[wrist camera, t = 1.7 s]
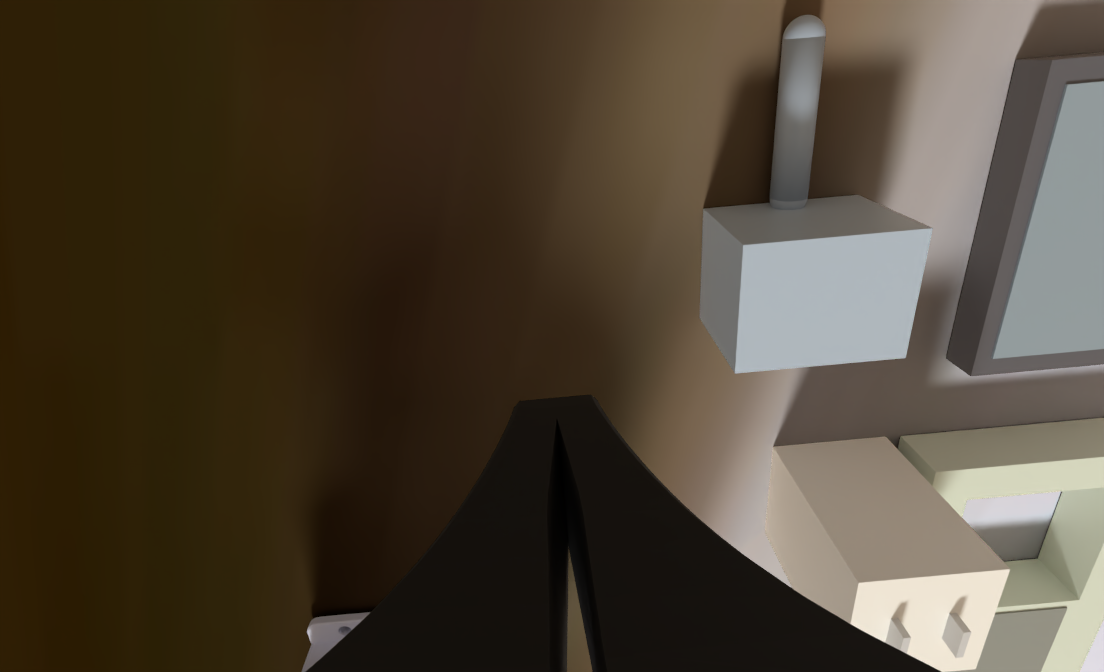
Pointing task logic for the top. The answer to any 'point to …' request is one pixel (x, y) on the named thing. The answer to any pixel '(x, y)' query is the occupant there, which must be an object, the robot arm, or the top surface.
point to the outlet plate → (1068, 549)
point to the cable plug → (808, 251)
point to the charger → (883, 549)
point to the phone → (1040, 228)
